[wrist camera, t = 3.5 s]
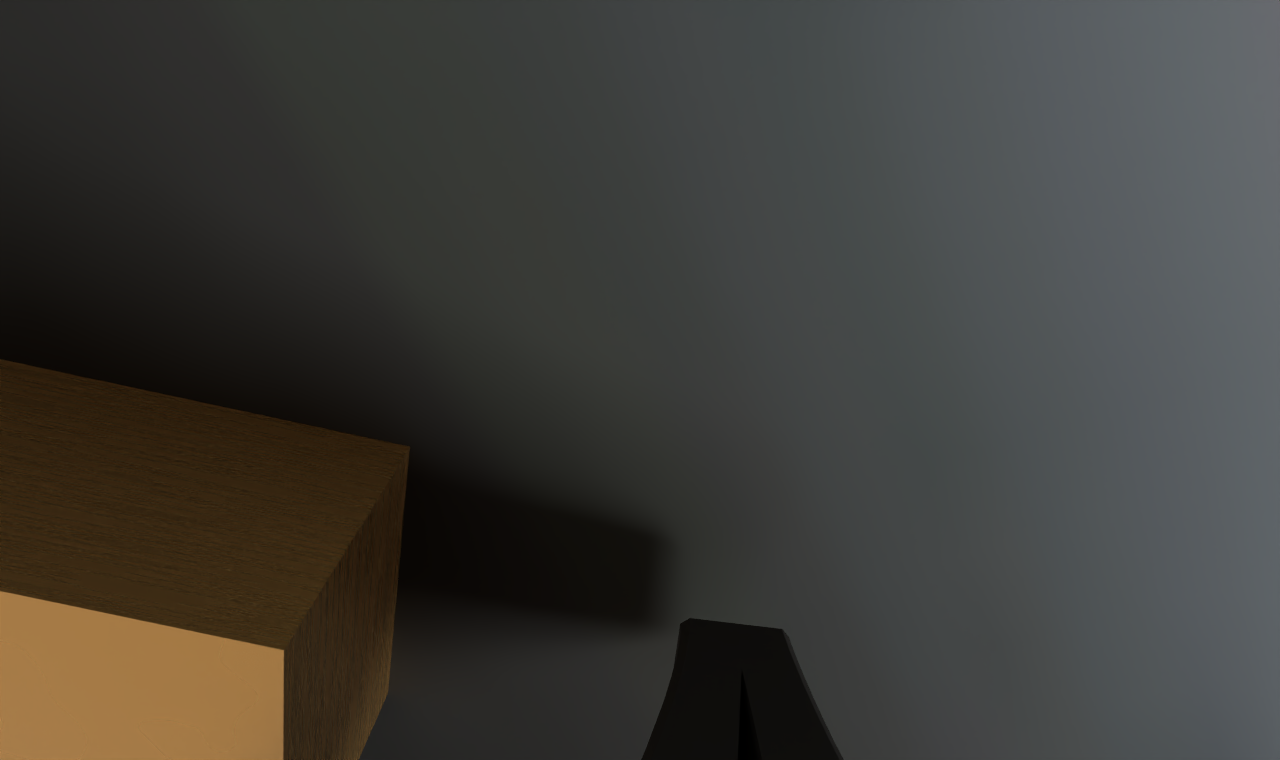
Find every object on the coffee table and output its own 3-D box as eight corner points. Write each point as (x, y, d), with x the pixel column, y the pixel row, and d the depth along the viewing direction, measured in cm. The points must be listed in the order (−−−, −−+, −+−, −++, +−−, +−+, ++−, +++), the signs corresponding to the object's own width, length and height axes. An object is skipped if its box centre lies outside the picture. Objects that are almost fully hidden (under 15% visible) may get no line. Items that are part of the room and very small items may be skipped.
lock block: (414, 440, 12) (284, 649, 8) (391, 685, 14) (281, 932, 10) (-78, 334, 11) (-432, 501, 8) (-20, 599, 14) (-273, 821, 10)
